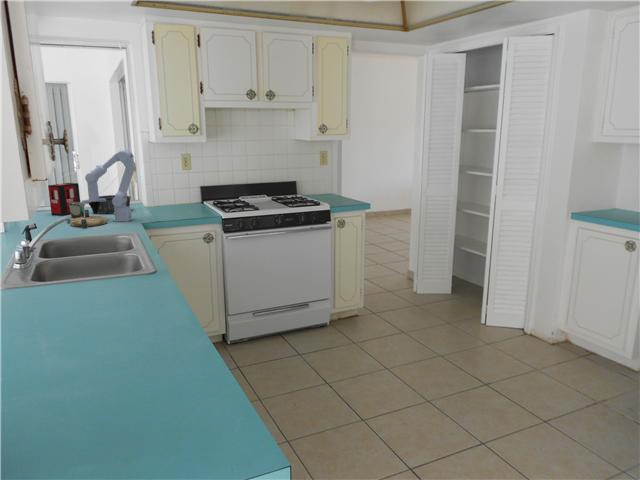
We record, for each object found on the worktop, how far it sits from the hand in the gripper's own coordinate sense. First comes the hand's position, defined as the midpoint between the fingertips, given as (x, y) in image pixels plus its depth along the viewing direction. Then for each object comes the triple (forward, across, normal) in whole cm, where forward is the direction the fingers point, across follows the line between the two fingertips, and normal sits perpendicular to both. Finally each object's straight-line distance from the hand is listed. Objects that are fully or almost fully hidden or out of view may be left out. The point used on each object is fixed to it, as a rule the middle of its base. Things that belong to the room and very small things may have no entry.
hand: (95, 214), depth 308 cm
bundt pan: (+5, -24, -24) cm, 34 cm away
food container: (+4, +2, -17) cm, 17 cm away
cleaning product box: (+4, 0, -40) cm, 40 cm away
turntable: (+4, +8, +7) cm, 12 cm away
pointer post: (+4, +15, +16) cm, 23 cm away
